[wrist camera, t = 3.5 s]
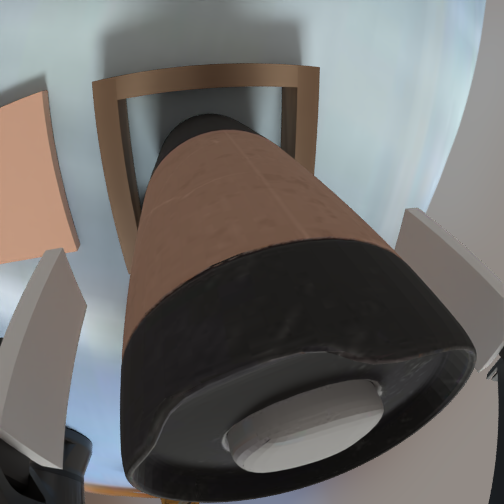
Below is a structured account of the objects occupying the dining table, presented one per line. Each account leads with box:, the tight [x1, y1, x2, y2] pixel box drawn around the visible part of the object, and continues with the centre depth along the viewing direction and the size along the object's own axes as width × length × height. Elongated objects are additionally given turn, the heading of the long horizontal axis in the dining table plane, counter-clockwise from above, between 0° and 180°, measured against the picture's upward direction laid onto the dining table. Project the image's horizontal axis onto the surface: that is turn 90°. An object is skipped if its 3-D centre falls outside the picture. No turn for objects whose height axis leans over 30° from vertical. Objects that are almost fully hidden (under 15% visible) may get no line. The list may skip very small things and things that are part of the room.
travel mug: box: [120, 114, 477, 503], centre depth 13 cm, size 8×8×20 cm
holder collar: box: [92, 63, 320, 274], centre depth 20 cm, size 14×14×3 cm
